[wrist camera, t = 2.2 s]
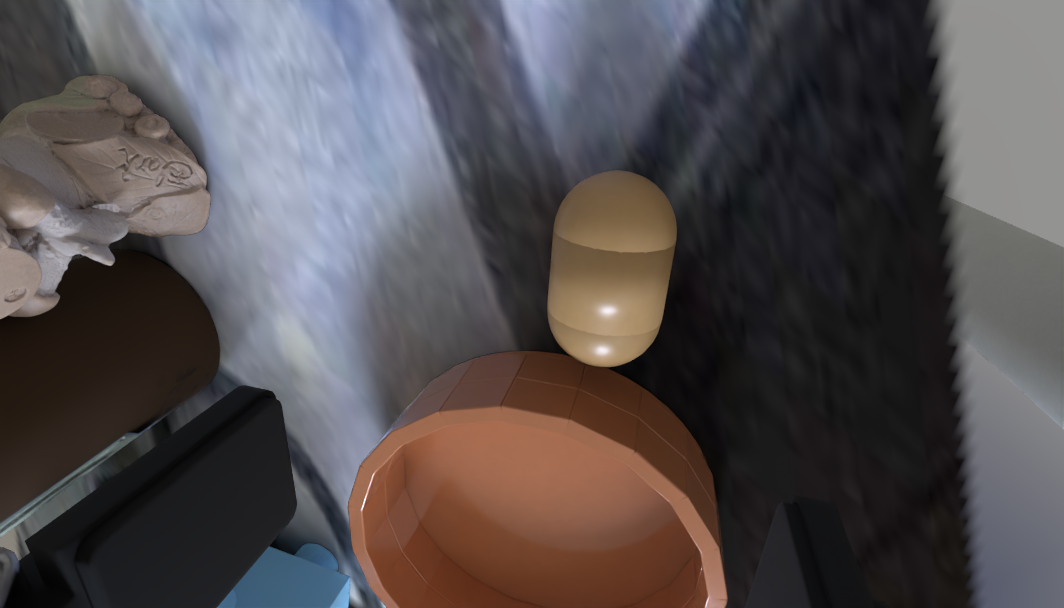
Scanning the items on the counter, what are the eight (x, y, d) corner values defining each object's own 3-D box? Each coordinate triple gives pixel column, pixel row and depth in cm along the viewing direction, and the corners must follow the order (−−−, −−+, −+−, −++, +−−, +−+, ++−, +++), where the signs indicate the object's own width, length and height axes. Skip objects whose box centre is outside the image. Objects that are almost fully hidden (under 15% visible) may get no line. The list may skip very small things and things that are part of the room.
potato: (570, 156, 22) (546, 175, 18) (686, 168, 21) (689, 190, 17) (555, 327, 25) (531, 377, 21) (655, 344, 24) (651, 399, 20)
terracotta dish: (753, 386, 24) (771, 459, 19) (683, 646, 31) (684, 742, 26) (389, 323, 27) (333, 372, 23) (402, 570, 34) (361, 643, 30)
